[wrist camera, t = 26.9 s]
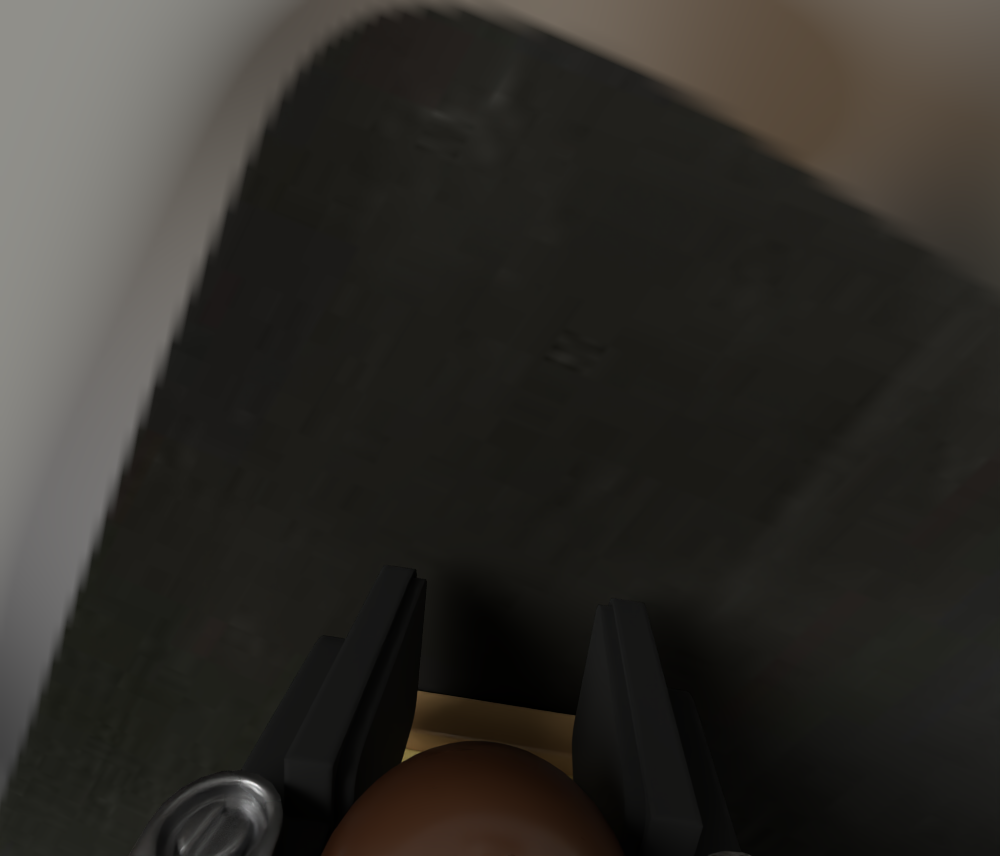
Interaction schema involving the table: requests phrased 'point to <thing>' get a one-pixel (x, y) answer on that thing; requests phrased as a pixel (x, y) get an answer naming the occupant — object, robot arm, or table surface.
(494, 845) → the ball topped lever
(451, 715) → the wooden lever base
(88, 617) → the table surface
